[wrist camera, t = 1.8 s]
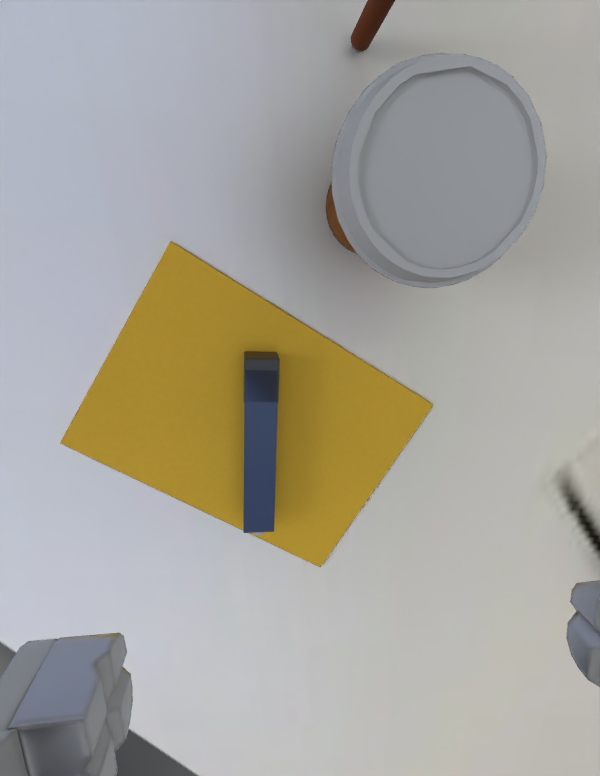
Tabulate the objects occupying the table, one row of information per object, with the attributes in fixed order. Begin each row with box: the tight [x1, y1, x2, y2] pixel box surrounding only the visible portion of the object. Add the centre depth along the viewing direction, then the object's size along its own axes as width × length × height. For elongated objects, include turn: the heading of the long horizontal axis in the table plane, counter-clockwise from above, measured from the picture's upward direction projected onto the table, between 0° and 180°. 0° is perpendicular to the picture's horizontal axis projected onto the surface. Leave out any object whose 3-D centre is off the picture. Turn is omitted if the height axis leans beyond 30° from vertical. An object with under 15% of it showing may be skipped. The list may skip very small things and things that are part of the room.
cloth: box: [61, 242, 433, 567], centre depth 33 cm, size 22×16×1 cm
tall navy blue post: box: [243, 351, 280, 536], centre depth 32 cm, size 14×2×3 cm, turn 178°
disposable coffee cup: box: [326, 53, 547, 288], centre depth 25 cm, size 10×10×12 cm
